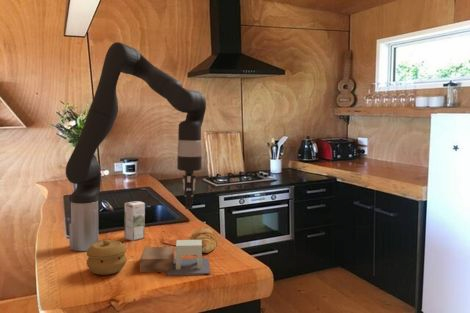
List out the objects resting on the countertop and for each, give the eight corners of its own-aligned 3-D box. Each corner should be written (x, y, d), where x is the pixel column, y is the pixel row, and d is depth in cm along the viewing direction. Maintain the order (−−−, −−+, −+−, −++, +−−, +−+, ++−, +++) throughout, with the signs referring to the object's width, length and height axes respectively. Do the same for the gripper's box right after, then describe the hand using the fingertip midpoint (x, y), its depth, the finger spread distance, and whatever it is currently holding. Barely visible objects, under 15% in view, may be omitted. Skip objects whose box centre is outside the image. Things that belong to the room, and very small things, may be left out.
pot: (130, 264, 125) (130, 234, 124) (121, 279, 114) (121, 246, 113) (94, 264, 125) (93, 234, 124) (80, 279, 113) (80, 245, 112)
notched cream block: (201, 268, 121) (201, 245, 120) (175, 269, 120) (175, 245, 120) (201, 262, 127) (201, 239, 126) (176, 262, 126) (176, 240, 126)
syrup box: (136, 235, 158) (135, 200, 157) (145, 238, 155) (145, 202, 153) (124, 238, 154) (123, 202, 153) (133, 241, 150) (132, 204, 149)
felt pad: (166, 275, 117) (166, 273, 117) (169, 260, 130) (169, 258, 130) (210, 274, 118) (210, 272, 118) (208, 259, 131) (208, 258, 131)
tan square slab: (139, 272, 119) (139, 259, 119) (144, 258, 131) (144, 247, 131) (172, 271, 120) (172, 258, 120) (174, 258, 132) (174, 246, 132)
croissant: (214, 264, 137) (225, 244, 137) (189, 252, 135) (200, 232, 135) (207, 244, 157) (217, 227, 157) (185, 234, 155) (195, 216, 155)
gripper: (202, 156, 114) (201, 210, 116) (201, 153, 128) (200, 201, 130) (176, 156, 113) (175, 211, 115) (178, 152, 128) (178, 201, 129)
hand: (189, 205), depth 122 cm, fingers open, 8 cm apart
